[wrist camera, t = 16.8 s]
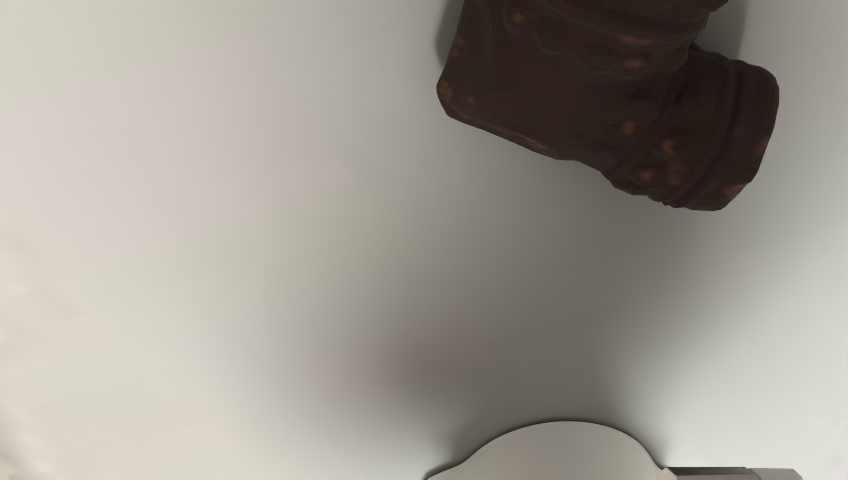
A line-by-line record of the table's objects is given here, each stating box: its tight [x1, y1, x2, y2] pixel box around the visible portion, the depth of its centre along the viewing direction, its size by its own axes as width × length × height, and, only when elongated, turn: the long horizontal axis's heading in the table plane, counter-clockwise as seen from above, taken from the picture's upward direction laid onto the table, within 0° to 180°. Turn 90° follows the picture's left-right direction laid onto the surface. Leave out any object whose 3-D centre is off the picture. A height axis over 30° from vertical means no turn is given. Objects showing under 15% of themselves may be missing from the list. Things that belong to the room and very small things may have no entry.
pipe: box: [437, 0, 779, 211], centre depth 35 cm, size 10×15×15 cm
